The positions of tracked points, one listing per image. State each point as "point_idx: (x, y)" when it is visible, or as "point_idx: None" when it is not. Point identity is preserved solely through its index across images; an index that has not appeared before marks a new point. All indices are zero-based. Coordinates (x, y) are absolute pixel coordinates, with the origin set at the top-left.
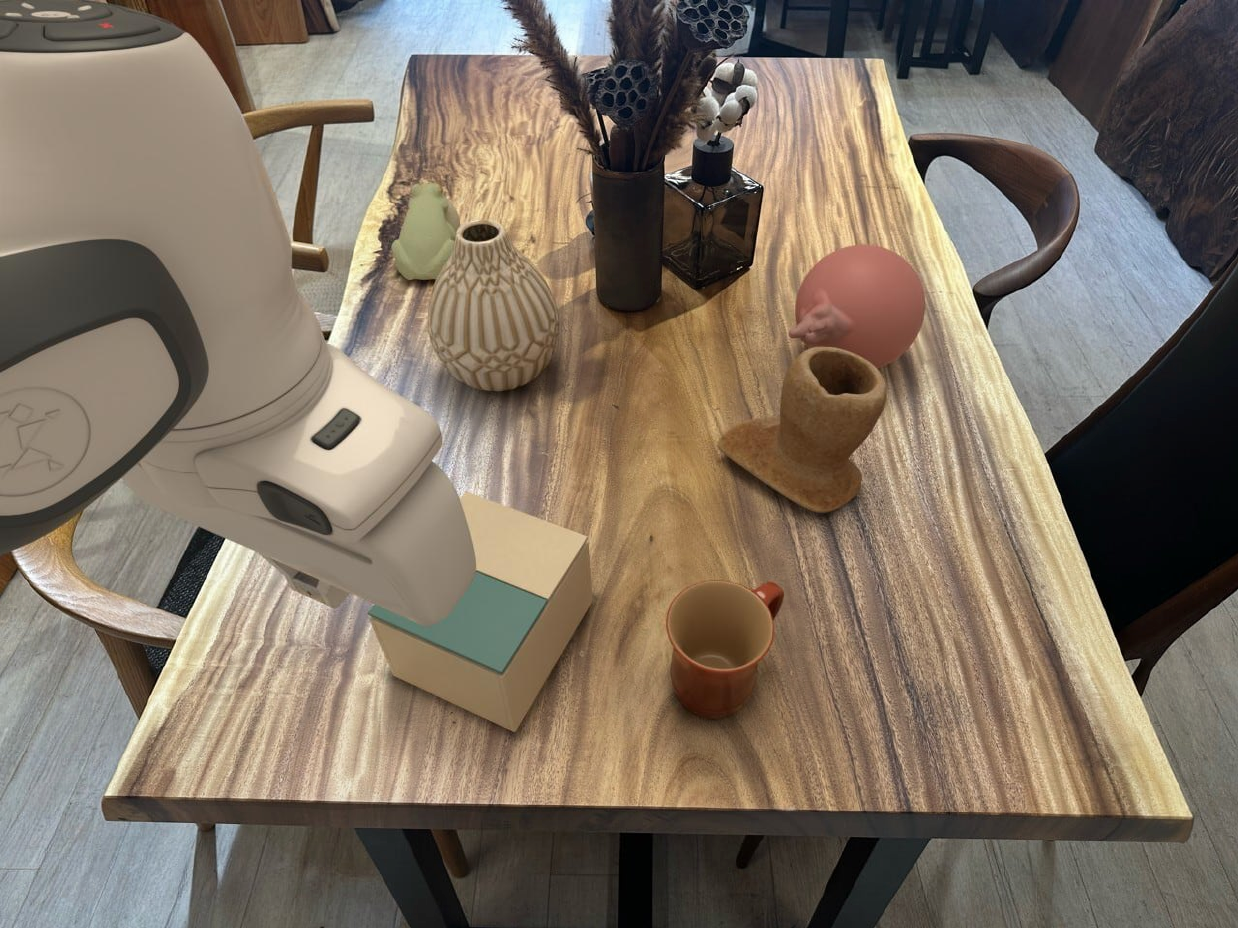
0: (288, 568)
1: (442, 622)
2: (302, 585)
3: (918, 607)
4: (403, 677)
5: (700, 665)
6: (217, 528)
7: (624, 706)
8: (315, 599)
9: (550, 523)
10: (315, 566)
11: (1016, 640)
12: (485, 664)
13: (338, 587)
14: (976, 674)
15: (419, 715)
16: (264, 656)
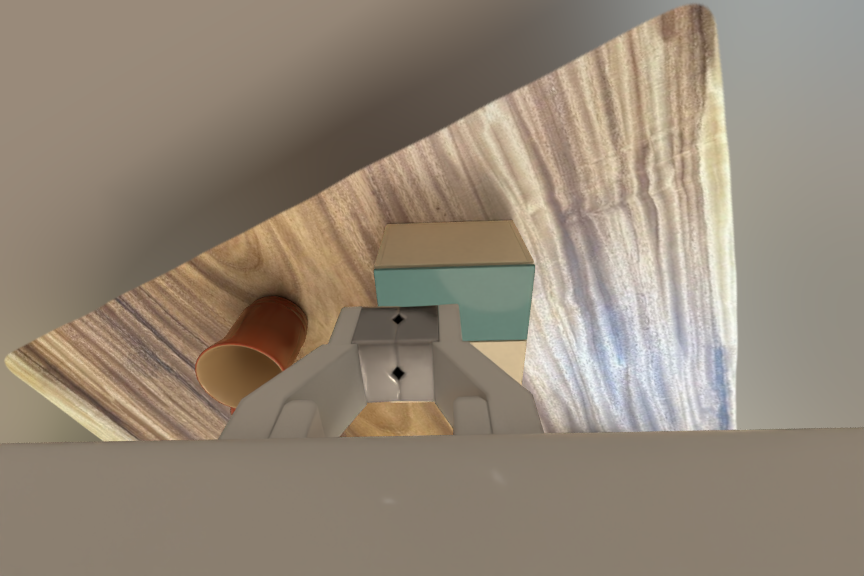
0: (446, 365)
1: (457, 288)
2: (406, 334)
3: (199, 416)
4: (500, 222)
5: (229, 344)
6: (663, 503)
7: (324, 278)
8: (388, 309)
9: (427, 401)
10: (28, 561)
11: (137, 418)
12: (391, 270)
13: (54, 454)
14: (141, 391)
15: (469, 200)
16: (640, 181)
